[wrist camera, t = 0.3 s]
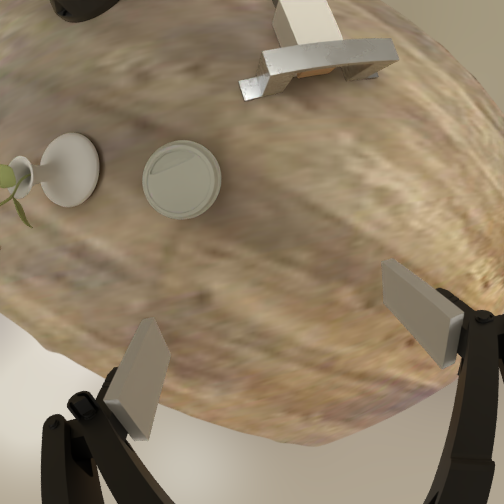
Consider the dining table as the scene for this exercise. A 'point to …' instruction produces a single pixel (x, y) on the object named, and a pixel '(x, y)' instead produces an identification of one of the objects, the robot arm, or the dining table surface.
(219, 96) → the dining table surface
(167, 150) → the coffee cup
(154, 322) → the robot arm
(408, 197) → the dining table surface
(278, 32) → the plug
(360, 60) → the bar
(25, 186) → the flower in vase
